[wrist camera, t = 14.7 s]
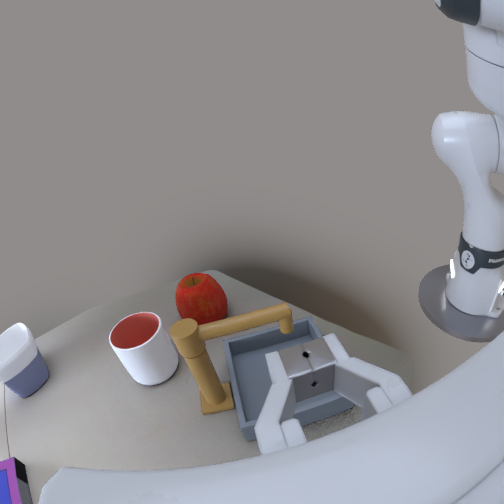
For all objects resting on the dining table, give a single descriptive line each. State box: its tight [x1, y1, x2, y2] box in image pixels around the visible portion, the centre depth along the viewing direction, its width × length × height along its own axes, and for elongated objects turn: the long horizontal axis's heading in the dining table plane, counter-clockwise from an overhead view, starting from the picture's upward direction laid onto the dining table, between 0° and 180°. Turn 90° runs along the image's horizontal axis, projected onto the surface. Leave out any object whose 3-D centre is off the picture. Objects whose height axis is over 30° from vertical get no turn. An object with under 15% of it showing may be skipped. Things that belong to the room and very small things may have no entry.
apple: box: [175, 273, 227, 326], centre depth 57 cm, size 11×11×11 cm
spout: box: [170, 302, 294, 358], centre depth 34 cm, size 15×4×5 cm, turn 102°
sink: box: [223, 316, 354, 441], centre depth 40 cm, size 16×18×4 cm
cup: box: [109, 312, 178, 385], centre depth 45 cm, size 10×10×10 cm
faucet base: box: [184, 348, 235, 415], centre depth 37 cm, size 5×5×12 cm
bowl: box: [0, 323, 49, 398], centre depth 42 cm, size 15×15×11 cm
